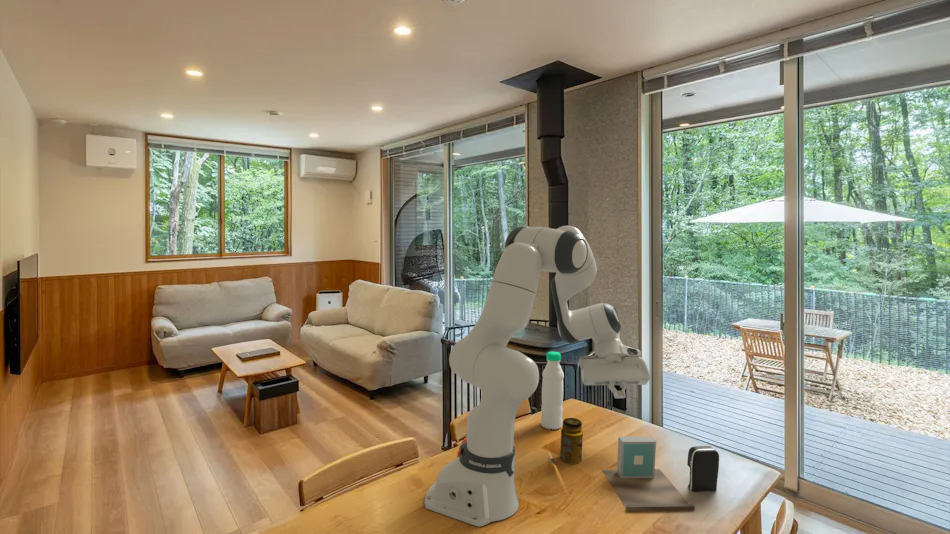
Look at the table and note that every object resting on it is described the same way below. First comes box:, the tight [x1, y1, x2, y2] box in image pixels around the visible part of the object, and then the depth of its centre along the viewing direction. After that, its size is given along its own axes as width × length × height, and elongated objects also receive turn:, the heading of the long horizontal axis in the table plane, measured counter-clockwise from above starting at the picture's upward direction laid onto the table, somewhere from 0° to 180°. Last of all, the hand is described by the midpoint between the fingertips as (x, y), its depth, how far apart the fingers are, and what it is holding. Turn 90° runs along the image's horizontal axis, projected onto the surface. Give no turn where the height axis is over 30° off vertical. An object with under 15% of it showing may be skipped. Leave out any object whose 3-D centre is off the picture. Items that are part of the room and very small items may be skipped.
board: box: [602, 468, 696, 512], centre depth 122 cm, size 19×16×2 cm
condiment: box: [548, 417, 584, 466], centre depth 136 cm, size 7×8×12 cm
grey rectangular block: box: [616, 436, 657, 478], centre depth 128 cm, size 9×3×10 cm, turn 93°
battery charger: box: [687, 445, 720, 493], centre depth 123 cm, size 7×4×11 cm, turn 96°
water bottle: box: [540, 351, 565, 431], centre depth 160 cm, size 7×7×25 cm
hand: (620, 397), depth 141 cm, fingers closed
